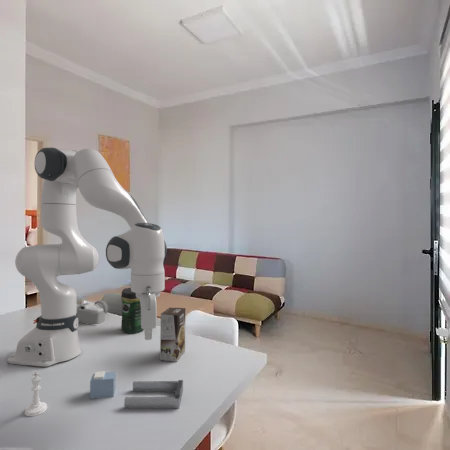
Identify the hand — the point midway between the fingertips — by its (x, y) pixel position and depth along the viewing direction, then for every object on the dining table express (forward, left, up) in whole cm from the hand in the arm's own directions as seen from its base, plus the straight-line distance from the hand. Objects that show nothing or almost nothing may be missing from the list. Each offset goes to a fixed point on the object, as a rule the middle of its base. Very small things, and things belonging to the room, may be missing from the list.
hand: (148, 334), depth 85 cm
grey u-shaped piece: (+2, 0, -17) cm, 17 cm away
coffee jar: (-18, +52, -18) cm, 58 cm away
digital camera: (-41, +66, -18) cm, 80 cm away
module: (-13, +3, -18) cm, 22 cm away
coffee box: (+3, +27, -18) cm, 33 cm away
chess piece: (-27, -5, -18) cm, 33 cm away
